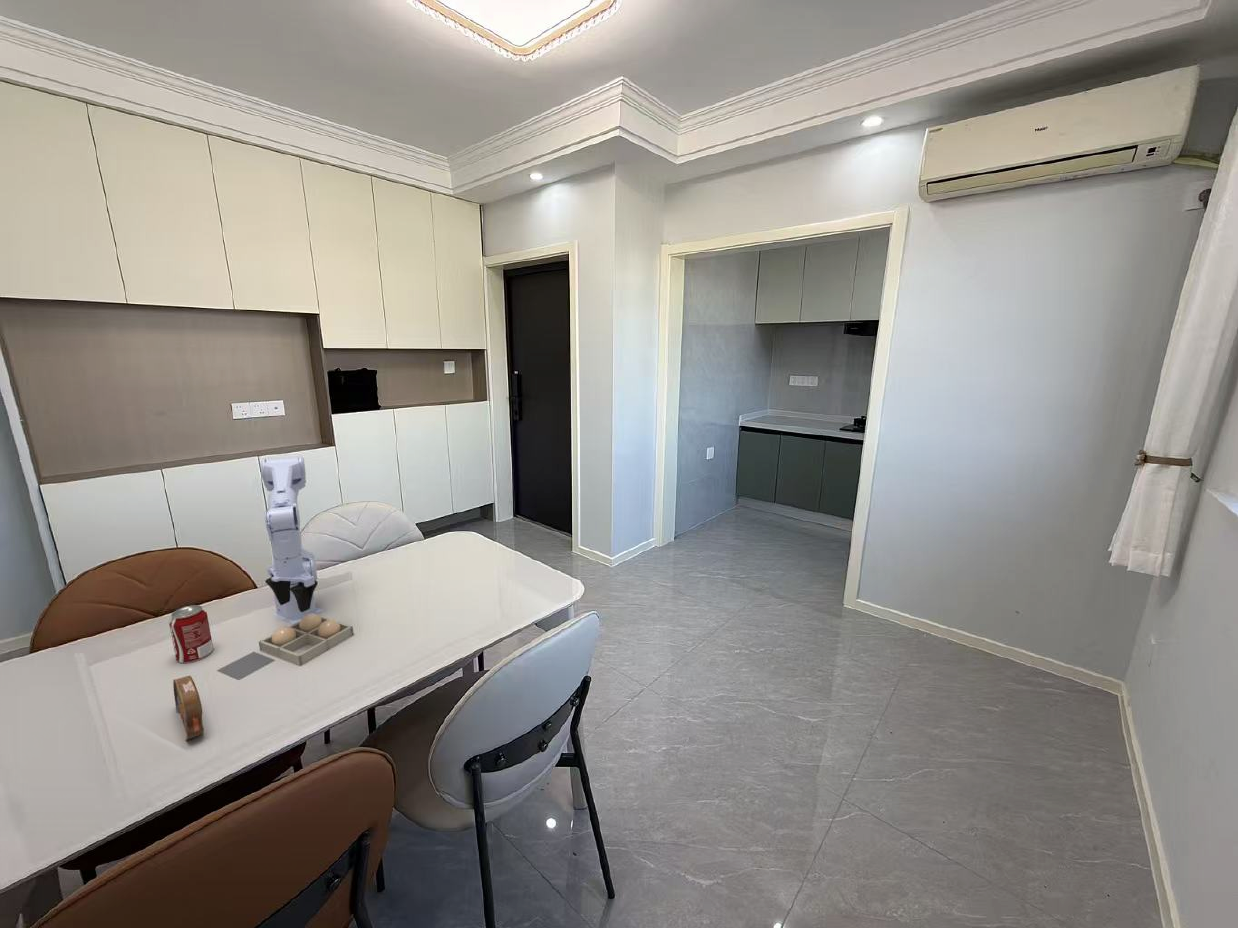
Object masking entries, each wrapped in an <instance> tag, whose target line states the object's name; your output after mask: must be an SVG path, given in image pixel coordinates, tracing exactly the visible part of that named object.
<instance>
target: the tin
mask: <svg viewBox="0 0 1238 928" xmlns="http://www.w3.org/2000/svg"><path fill="white" fill-rule="evenodd" d="M172 681H173V682H172V683H173V684H172V685H173V695H174V702H175V704H174V705H175V710H176V714H179V715H180V718H181V720H182V724H183V726H184V727H183V728H184V730H185V733H186V738H185V741H188V740H191V739H193V738H195V737H198V736H200V735H202V734H203V733H204V730H205V727H204V725H203V717H202V716H203V707H202V702H201V697H200V694H199V692H198V688H197V686H196V683H195V681H194V679H193V676H191V675H186V676H183V677H180V678H177V679H175V678H174V679H173V680H172Z"/></svg>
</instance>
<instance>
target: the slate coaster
mask: <svg viewBox="0 0 1238 928" xmlns="http://www.w3.org/2000/svg"><path fill="white" fill-rule="evenodd" d="M275 661H276V659H274V658H271V657H269V656H266V655H263V654H261V653H259V652H257V651H252V652H250V653H248V654H247V655H244V656H242V657H240V658H237V660H234V661H232V662H231V663H228V664H227V665H224V666H222V667H220V668H219V669H216V671H217V672H218V673H221V674H223V675H226V676H228V677H230V678H232V679H235V680H238V681H240V680H242V679H243V678H245V677H247V676H250V675H252V674H253V673H255V672H257V671H259V670H260V669H262V668H264V667H267V666H268V665H269V664H272V663H273V662H275Z"/></svg>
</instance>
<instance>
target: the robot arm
mask: <svg viewBox="0 0 1238 928" xmlns="http://www.w3.org/2000/svg"><path fill="white" fill-rule="evenodd" d="M305 465H306V464H305V459H304V457H303V456H302V455H299V456H293V457H292V456H289V457H280V458H262V459H261V460H260V465H259V466H260V473H261V478H262V482H263V483H264V484H263V485H264V487H265V488H266V490H267V492H269V494H268V506H267V510H265V512H264V522H265V528H266V531H267V534H268V539H269V541H271V542H270V543H271V549H272V555H273V559H272V561H271V562H272V563H271V566H268V567H267V568H266V569H267V575H268V576H270V577H269V578H266V580H265V584H266V585H268V586H269V587H270V589H271V590H272V592H273V593H274V594H273V596H274V597H273V598H274V602H275V604H274V605H275V611H276V613H275V614H274V615H273V617H275V618H278V619H282V620H285V621H287V622H290V623H293V624H295V623H297V622H299V621H301V619H302V618H303V617H304V616H306V615H308V614H317V615H318V614H319V613H322V612H324V609H323V608H319V607H316V601H315V593H314V592H315V590H316V588H317V586H318V581H317V579H318V571H317V564H316V563H317V562H316V560H315V559H316V558H315V555H314V553H313V552H312V551H310V550H307V549H305V548H303V546H302V537H301V518H300V510H299V505H298V495H299V491H300V490H302V489H304V488H305V487H306V483H307V480H306V479H307V478H306V475H307V474H306V466H305Z"/></svg>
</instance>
